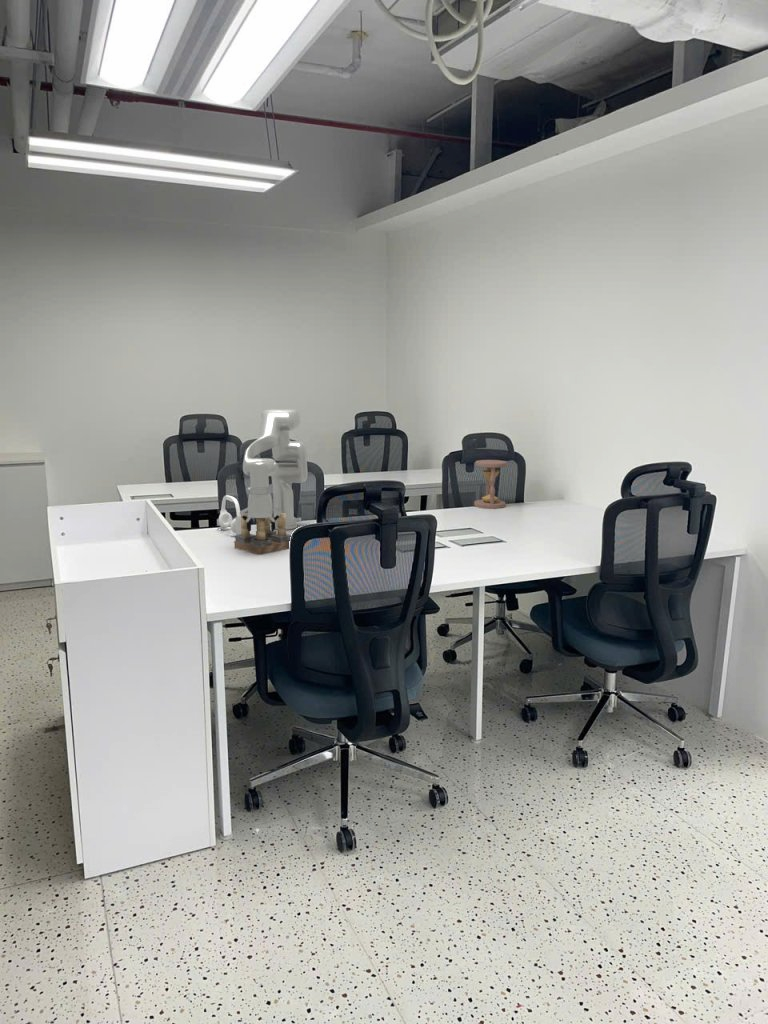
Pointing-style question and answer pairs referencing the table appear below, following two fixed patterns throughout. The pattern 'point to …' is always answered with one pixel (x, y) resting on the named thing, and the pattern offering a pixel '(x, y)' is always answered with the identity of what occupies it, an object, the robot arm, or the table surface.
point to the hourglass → (490, 484)
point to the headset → (226, 518)
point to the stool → (272, 539)
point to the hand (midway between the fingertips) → (261, 530)
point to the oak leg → (260, 529)
